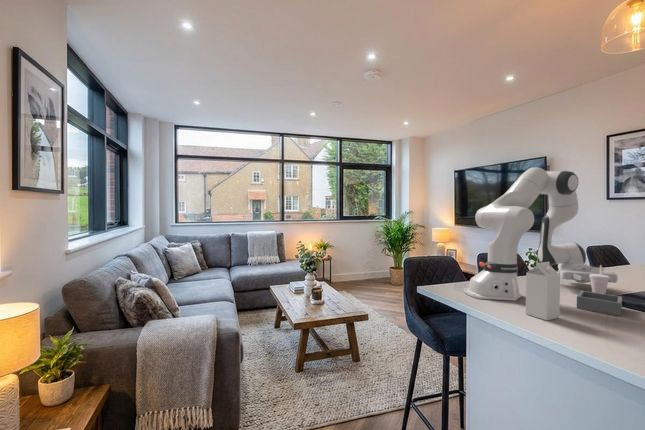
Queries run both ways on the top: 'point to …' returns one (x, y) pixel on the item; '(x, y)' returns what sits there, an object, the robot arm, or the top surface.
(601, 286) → the smoothie
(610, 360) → the top surface
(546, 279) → the milk carton
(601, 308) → the bin
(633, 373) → the top surface
